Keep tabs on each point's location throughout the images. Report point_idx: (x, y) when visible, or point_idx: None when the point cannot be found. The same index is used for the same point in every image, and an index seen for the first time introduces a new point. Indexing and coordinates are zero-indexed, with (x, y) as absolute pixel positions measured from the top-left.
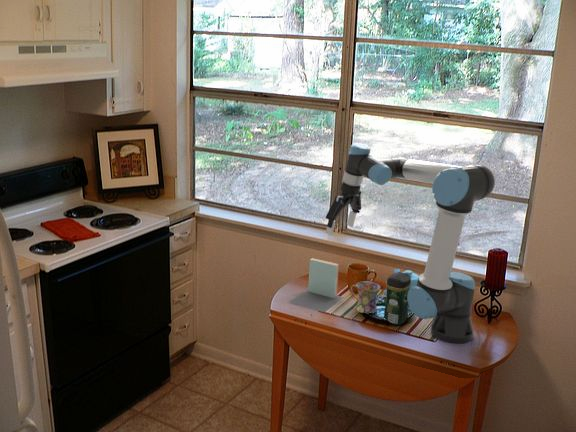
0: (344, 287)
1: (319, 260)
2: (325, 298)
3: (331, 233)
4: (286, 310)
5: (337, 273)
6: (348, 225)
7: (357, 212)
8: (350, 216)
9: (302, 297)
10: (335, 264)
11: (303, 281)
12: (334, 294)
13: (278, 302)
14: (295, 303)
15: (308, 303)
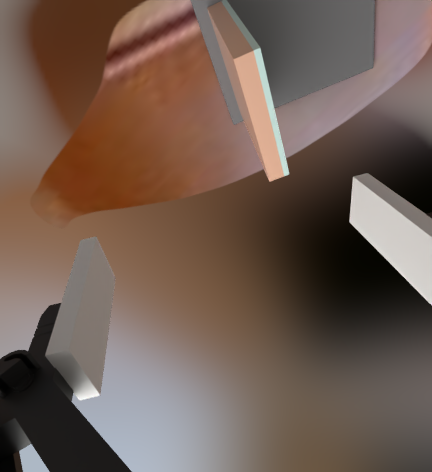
0: (106, 78)
1: (269, 147)
2: (255, 19)
3: (376, 181)
4: (416, 26)
5: (232, 38)
6: (108, 264)
7: (27, 363)
8: (100, 330)
9: (307, 75)
10: (251, 66)
11: (199, 177)
12: (228, 3)
13: (373, 93)
14: (365, 46)
15: (337, 18)
